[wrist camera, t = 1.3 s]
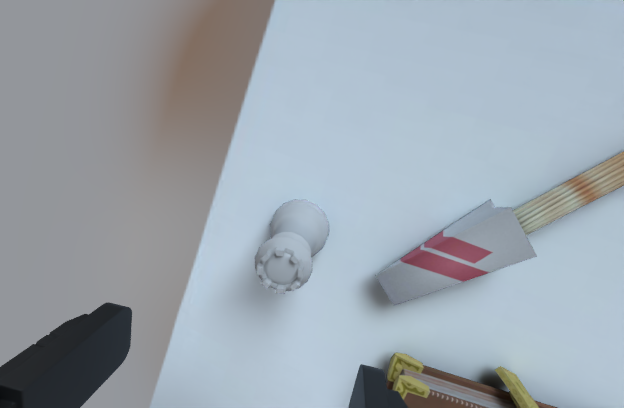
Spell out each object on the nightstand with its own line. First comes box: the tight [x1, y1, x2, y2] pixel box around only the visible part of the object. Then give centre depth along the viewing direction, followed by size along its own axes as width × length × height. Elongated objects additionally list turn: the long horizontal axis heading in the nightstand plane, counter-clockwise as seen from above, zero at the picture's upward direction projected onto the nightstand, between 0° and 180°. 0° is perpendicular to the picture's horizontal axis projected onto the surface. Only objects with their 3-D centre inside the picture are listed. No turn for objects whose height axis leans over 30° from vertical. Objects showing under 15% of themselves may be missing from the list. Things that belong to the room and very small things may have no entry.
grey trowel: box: [375, 152, 624, 305], centre depth 21 cm, size 4×3×20 cm
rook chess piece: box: [255, 199, 329, 294], centre depth 20 cm, size 4×4×8 cm
